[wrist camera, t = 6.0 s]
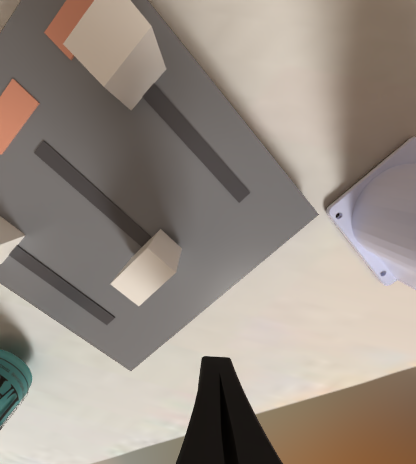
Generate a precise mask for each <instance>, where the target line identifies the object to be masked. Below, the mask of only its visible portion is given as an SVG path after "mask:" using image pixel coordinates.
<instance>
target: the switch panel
mask: <svg viewBox="0 0 416 464" xmlns="http://www.w3.org/2000/svg"><path fill="white" fill-rule="evenodd" d="M318 215H319V214H318V213H317V212H316V210H315V209H314V208H313V207H312V205H311V204H310V203H309V202H308V200H307V199H306V198H305V197H304V195H303V194H302V193H301V192H300V190H299V189H298V188H297V187H296V185H295V184H294V183H293V182H292V180H291V179H290V178H289V177H288V175H287V174H286V173H285V172H284V170H283V169H282V168H281V167H280V165H279V164H278V163H277V162H276V160H275V159H274V158H273V157H272V155H271V154H270V153H269V151H268V150H267V149H266V148H265V146H264V145H263V144H262V143H261V141H260V140H259V139H258V138H257V136H256V135H255V134H254V133H253V131H252V130H251V129H250V128H249V126H248V125H247V124H246V123H245V121H244V120H243V119H242V118H241V116H240V115H239V114H238V113H237V111H236V110H235V109H234V108H233V106H232V105H231V104H230V103H229V101H228V100H227V99H226V98H225V96H224V95H223V94H222V93H221V91H220V90H219V89H218V88H217V86H216V85H215V84H214V83H213V81H212V80H211V79H210V78H209V76H208V75H207V74H206V73H205V71H204V70H203V69H202V68H201V66H200V65H199V64H198V63H197V61H196V60H195V59H194V58H193V56H192V55H191V54H190V53H189V51H188V50H187V49H186V47H185V46H184V45H183V44H182V42H181V41H180V40H179V39H178V37H177V36H176V35H175V34H174V32H173V31H172V30H171V29H170V27H169V26H168V25H167V24H166V22H165V21H164V20H163V19H162V17H161V16H160V15H159V14H158V12H157V11H156V10H155V9H154V7H153V6H152V5H151V4H150V2H149V1H148V0H21V1H20V3H19V5H18V6H17V8H16V9H15V11H14V12H13V14H12V15H11V17H10V19H9V20H8V22H7V23H6V25H5V26H4V28H3V29H2V31H1V33H0V283H1V284H2V285H4V286H5V287H7V288H8V289H10V290H11V291H13V292H14V293H15V294H17V295H18V296H20V297H21V298H23V299H24V300H26V301H27V302H29V303H30V304H32V305H33V306H35V307H36V308H38V309H39V310H41V311H42V312H44V313H45V314H47V315H48V316H50V317H51V318H53V319H54V320H56V321H57V322H59V323H60V324H61V325H63V326H64V327H66V328H67V329H69V330H70V331H72V332H73V333H75V334H76V335H78V336H79V337H81V338H82V339H84V340H85V341H87V342H88V343H90V344H91V345H93V346H94V347H96V348H97V349H99V350H100V351H102V352H103V353H105V354H106V355H107V356H109V357H110V358H112V359H113V360H115V361H116V362H118V363H119V364H121V365H122V366H124V367H125V368H127V369H128V370H130V371H132V370H133V369H134V368H135V367H137V366H138V365H139V364H140V363H141V362H143V361H144V360H145V359H146V358H147V357H149V356H150V355H151V354H152V353H153V352H155V351H156V350H157V349H158V348H159V347H161V346H162V345H163V344H164V343H165V342H167V341H168V340H169V339H170V338H171V337H173V336H174V335H175V334H176V333H177V332H179V331H180V330H181V329H182V328H183V327H185V326H186V325H187V324H188V323H189V322H191V321H192V320H193V319H194V318H195V317H196V316H198V315H199V314H200V313H201V312H202V311H204V310H205V309H206V308H207V307H208V306H210V305H211V304H212V303H213V302H214V301H216V300H217V299H218V298H219V297H220V296H222V295H223V294H224V293H225V292H226V291H228V290H229V289H230V288H231V287H232V286H234V285H235V284H236V283H237V282H238V281H240V280H241V279H242V278H243V277H244V276H246V275H247V274H248V273H249V272H250V271H252V270H253V269H254V268H255V267H256V266H258V265H259V264H260V263H261V262H262V261H264V260H265V259H266V258H267V257H268V256H270V255H271V254H272V253H273V252H274V251H276V250H277V249H278V248H279V247H280V246H282V245H283V244H284V243H285V242H286V241H288V240H289V239H290V238H291V237H292V236H294V235H295V234H296V233H297V232H298V231H300V230H301V229H302V228H303V227H304V226H306V225H307V224H308V223H309V222H310V221H312V220H313V219H314V218H315V217H316V216H318ZM160 229H161V230H162V231H164V232H165V233H166V234H167V235H168V236H169V237H170V238H171V239H172V240H173V241H174V242H175V243H176V244H178V245H179V246H180V247H181V248H182V250H181V254H180V258H179V262H178V266H177V271H176V273H175V274H174V275H173V276H172V277H171V278H170V279H168V280H167V281H166V282H165V283H164V284H163V285H162V286H161V287H160V288H159V289H157V290H156V291H155V292H154V293H153V294H152V295H151V296H150V297H149V298H148V299H146V300H145V301H144V302H143V303H142V304H141V305H140V306H138V305H136V304H135V303H134V302H132V301H131V300H130V299H129V298H127V297H126V296H125V295H123V294H122V293H121V292H120V291H118V290H117V289H116V288H114V287H113V286H112V285H111V282H112V281H113V280H114V279H115V278H116V276H117V275H118V274H119V273H120V271H121V270H122V269H123V268H124V266H125V265H126V264H127V263H128V261H129V260H130V259H131V258H132V257H133V256H134V255H135V254H136V253H137V252H138V251H139V250H140V249H141V248H142V247H143V246H144V245H145V244H146V243H147V242H148V241H149V240H150V239H151V238H152V237H153V236H154V235H155V234H156V233H157V232H158V231H159V230H160Z"/></svg>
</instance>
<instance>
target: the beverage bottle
mask: <svg viewBox="0 0 416 464" xmlns="http://www.w3.org/2000/svg"><path fill="white" fill-rule="evenodd" d="M31 383H32V374H31V372H30V369H29V368H28V366H27V365H26V364H25V363H24V362H23V361H22V360H21V359H20V358H18V357H17V356H15V355H14V354H12V353H10V352H7V351H5V350H1V349H0V426H1V425H2V424H4V423H5V422H6V421H5V420H6V419H7V418H8V416H9V415H10V414H11V413H13V412H15V411H16V410H15V411H13V410H14V409H15V408H17V407H16V406H17V405H19V403H20V401H21V400H23V399H24V396H25V395H26V393H27V394H28V389H29V388H30V386H31ZM12 411H13V412H12ZM12 415H13V414H12ZM12 415H11V416H12ZM9 417H10V416H9ZM8 420H9V419H8ZM8 420H7V421H8ZM4 421H5V422H4ZM5 424H6V423H5ZM5 424H4V425H5ZM4 425H2V426H4ZM2 426H1V427H0V430H1V429H2Z"/></svg>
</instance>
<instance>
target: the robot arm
mask: <svg viewBox="0 0 416 464" xmlns="http://www.w3.org/2000/svg"><path fill="white" fill-rule="evenodd" d="M337 213H339V216H338V217H337V218H336V214H337ZM327 215H328V216H329V217H330V219H331V220H332V221H333V222H334V224H335V225H336V226H337V227H338V229H339V230H340V231H341V233H342V234H343V235H344V236H345V238H346V239H347V240H348V242H349V243H350V244H351V245H352V247H353V248H354V249H355V250H356V252H357V253H358V254H359V256H360V257H361V258H362V259H363V261H364V262H365V263H366V264H367V266H368V267H369V268H370V270H371V271H372V272H373V273H374V275H375V276H376V277H377V278H378V280H379V281H380V282H381V283H382V284H384V285H386V286H388V285H391V284H392V283H394V282H395V281H397V280H398V281H400V282H402V283H404V284H406V285H408V286H409V287H411V288H413V289H415V290H416V136H414V137H411V138H410V139H409V140H407V141H406V142H405V143H404V144H403V145H401V146H400V147H399V148H398V149H397V150H395V151H394V152H393V153H392V154H391V155H390V156H388V157H387V158H386V159H385V160H384V161H382V162H381V163H380V164H379V165H378V166H376V167H375V168H374V169H373V170H372V171H370V172H369V173H368V174H367V175H366V176H364V177H363V178H362V179H361V180H360V181H358V182H357V183H356V184H355V185H354V186H352V187H351V188H350V189H349V190H348V191H346V192H345V193H344V194H343V195H342V196H340V197H339V198H338V199H337V200H336V201H334V202H333V203H332V204H331V205H330V206H329V207H328V208H327ZM381 272H382V273H381ZM176 464H283V463H282V462H281V460H280V458H279V457H278V455H277V453H276V452H275V450H274V448H273V446H272V445H271V443H270V442H269V440H268V438H267V436H266V434H265V432H264V431H263V429H262V427H261V425H260V423H259V421H258V419H257V417H256V415H255V413H254V412H253V409H252V407H251V405H250V403H249V401H248V399H247V397H246V395H245V393H244V391H243V389H242V386H241V384H240V382H239V379H238V377H237V375H236V372H235V370H234V367H233V364H232V361H231V359H230V358H227V357H209V356H204V357H203V358H202V361H201V368H200V376H199V383H198V392H197V396H196V401H195V405H194V408H193V412H192V415H191V419H190V422H189V426H188V429H187V432H186V435H185V439H184V442H183V444H182V448H181V450H180V454H179V456H178V459H177V462H176Z"/></svg>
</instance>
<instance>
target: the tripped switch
mask: <svg viewBox="0 0 416 464" xmlns="http://www.w3.org/2000/svg"><path fill="white" fill-rule="evenodd" d="M181 250H182V248H181V247H180V246H179V245H178V244H176V243H175V242H174V241H173V240H172V239H171V238H170V237H169V236H168V235H167V234H166V233H165V232H164V231H162V230H161V229H160V230H159V231H158V232H157V233H156V234H155V235H154V236H153V237H152V238H151V239H150V240H149V241H148V242H147V243H146V244H145V245H144V246H143V247H142V248H141V249H140V250H139V251H138V252H137V253H136V254H135V255H134V256H133V257H132V258H131V259H130V260H129V261H128V263H127V264H126V265H125V266H124V268H123V269H122V270H121V271H120V273H119V274H118V275H117V276H116V278H115V279H114V280H113V281H112V282H111V285H112V286H113V287H114V288H116V289H117V290H118V291H120V292H121V293H122V294H123V295H125V296H126V297H127V298H129V299H130V300H131V301H132V302H134V303H135V304H136V305H138V306H140V305H141V304H142V303H143V302H144V301H145V300H146V299H148V298H149V297H150V296H151V295H152V294H153V293H154V292H155V291H156V290H157V289H159V288H160V287H161V286H162V285H163V284H164V283H165V282H166V281H167V280H168V279H170V278H171V277H172V276H173V275H174V274H175V273H176V271H177V266H178V262H179V258H180V254H181Z"/></svg>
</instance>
